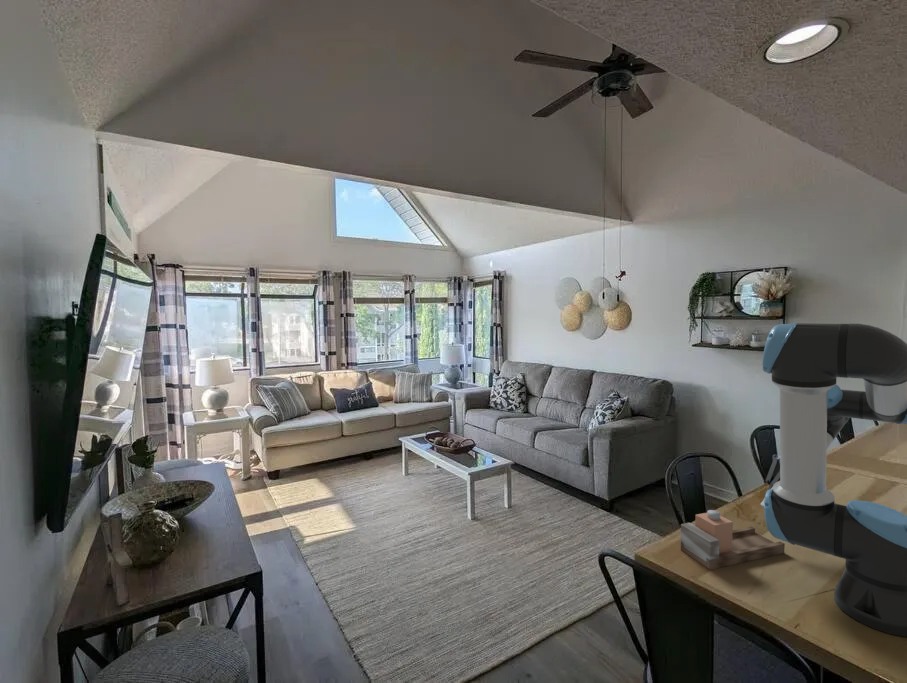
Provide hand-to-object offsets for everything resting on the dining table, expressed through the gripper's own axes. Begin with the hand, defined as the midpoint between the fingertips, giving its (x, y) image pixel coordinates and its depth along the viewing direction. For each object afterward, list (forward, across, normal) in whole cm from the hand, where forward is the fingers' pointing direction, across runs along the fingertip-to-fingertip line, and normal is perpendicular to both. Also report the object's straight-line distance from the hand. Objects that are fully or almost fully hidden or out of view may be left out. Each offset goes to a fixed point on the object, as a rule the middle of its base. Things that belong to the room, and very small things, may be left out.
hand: (765, 508), depth 125 cm
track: (+16, 0, +1) cm, 16 cm away
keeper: (+19, 0, +6) cm, 20 cm away
